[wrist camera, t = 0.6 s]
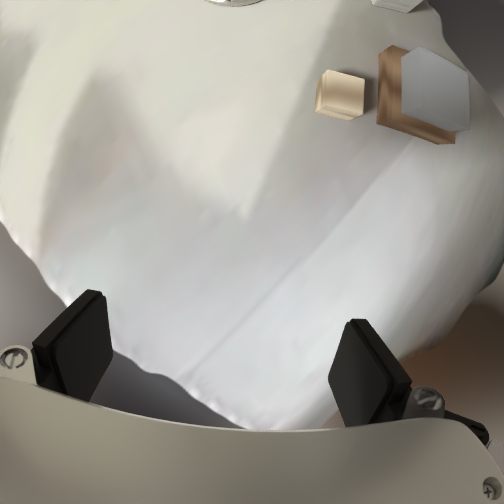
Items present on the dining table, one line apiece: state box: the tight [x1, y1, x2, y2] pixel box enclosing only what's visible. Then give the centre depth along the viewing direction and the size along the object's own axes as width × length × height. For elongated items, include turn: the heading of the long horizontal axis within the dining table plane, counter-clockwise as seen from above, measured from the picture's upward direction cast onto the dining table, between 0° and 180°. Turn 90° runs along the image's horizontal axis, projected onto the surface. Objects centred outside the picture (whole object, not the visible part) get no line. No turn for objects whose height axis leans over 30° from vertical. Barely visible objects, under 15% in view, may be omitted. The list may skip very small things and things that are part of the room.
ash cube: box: [315, 70, 364, 120], centre depth 31 cm, size 5×5×5 cm
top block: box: [401, 46, 470, 132], centre depth 27 cm, size 9×9×5 cm
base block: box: [377, 45, 455, 144], centre depth 32 cm, size 12×12×5 cm
